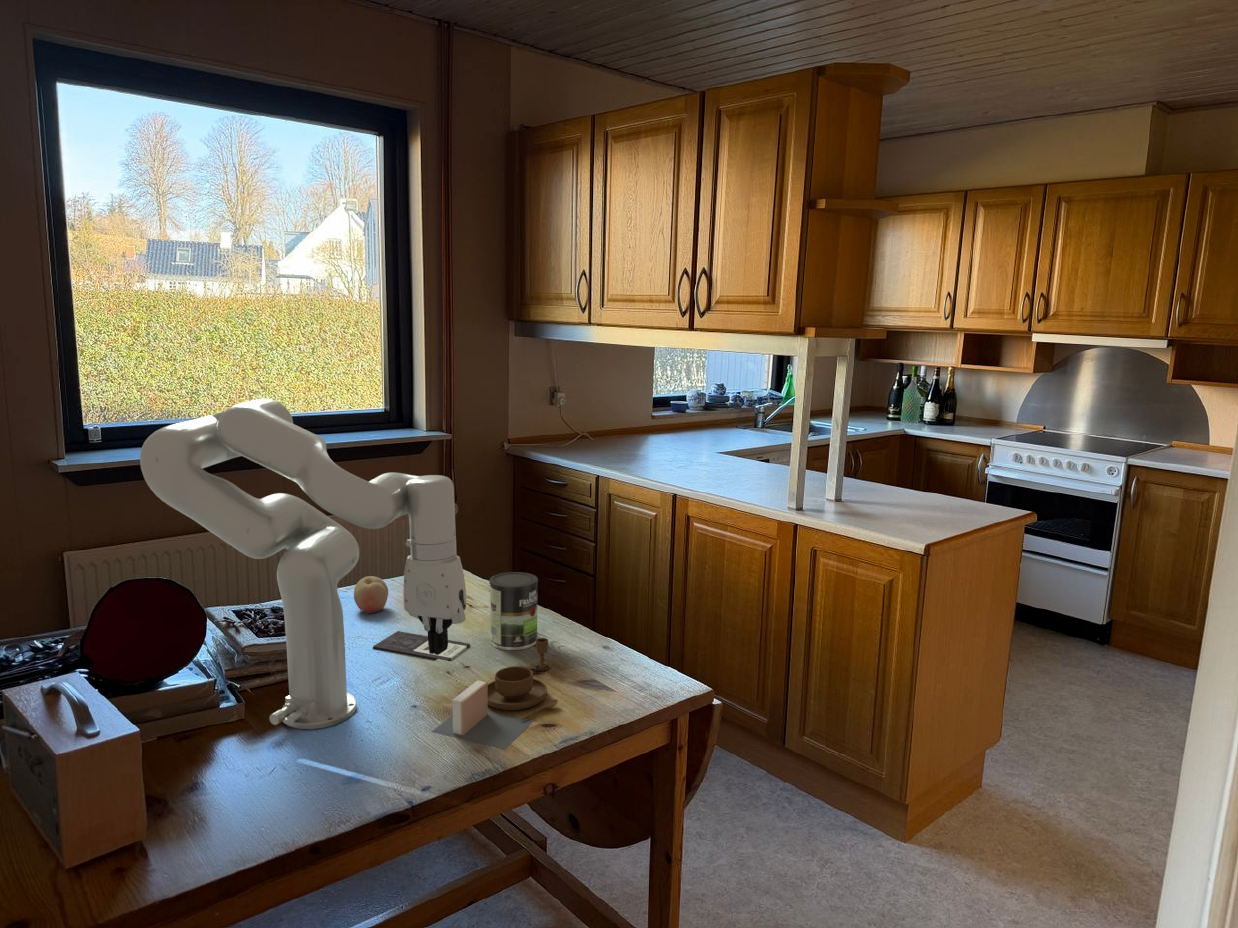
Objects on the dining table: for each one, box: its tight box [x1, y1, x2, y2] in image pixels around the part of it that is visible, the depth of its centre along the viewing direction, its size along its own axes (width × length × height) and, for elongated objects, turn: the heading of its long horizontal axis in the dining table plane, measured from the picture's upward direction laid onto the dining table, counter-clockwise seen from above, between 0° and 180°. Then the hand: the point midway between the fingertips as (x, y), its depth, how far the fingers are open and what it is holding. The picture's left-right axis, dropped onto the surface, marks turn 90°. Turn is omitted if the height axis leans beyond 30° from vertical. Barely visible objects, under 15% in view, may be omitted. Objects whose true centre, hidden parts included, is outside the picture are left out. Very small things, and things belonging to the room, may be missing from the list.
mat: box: [431, 710, 534, 750], centre depth 141 cm, size 10×14×1 cm
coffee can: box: [489, 571, 539, 651], centre depth 178 cm, size 10×10×14 cm
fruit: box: [353, 575, 389, 614], centre depth 194 cm, size 8×8×8 cm
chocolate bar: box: [372, 630, 471, 662], centre depth 175 cm, size 9×1×18 cm
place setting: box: [487, 637, 558, 719], centre depth 154 cm, size 18×20×6 cm
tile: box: [452, 680, 489, 735], centre depth 142 cm, size 8×2×6 cm, turn 158°
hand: (438, 651), depth 143 cm, fingers closed
